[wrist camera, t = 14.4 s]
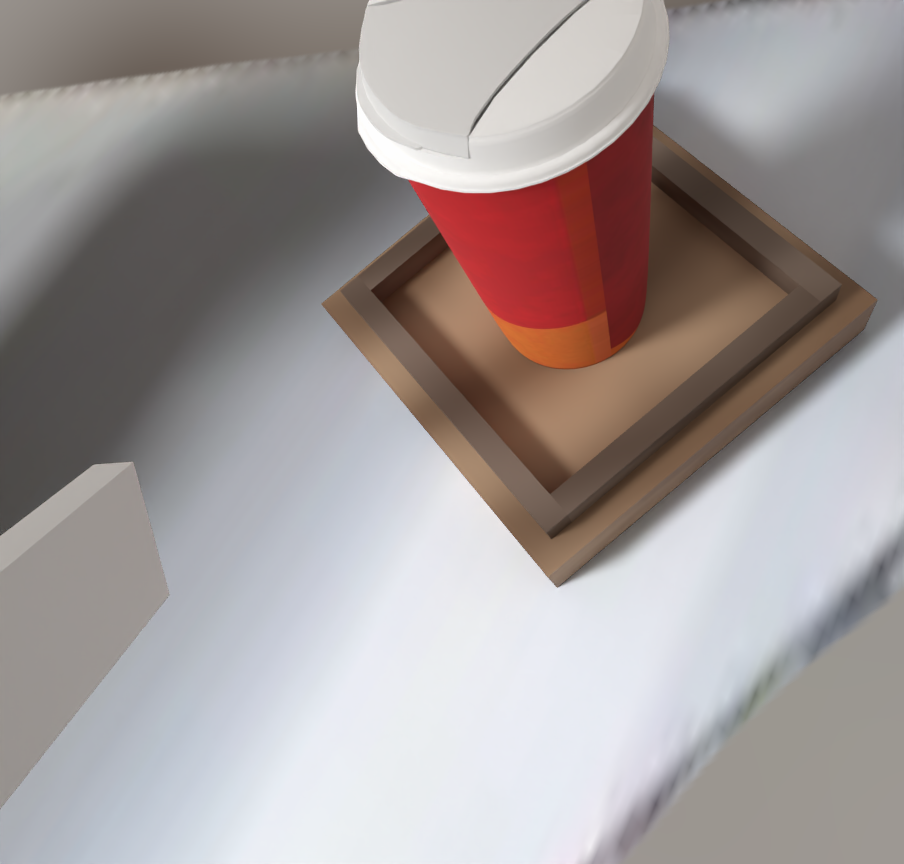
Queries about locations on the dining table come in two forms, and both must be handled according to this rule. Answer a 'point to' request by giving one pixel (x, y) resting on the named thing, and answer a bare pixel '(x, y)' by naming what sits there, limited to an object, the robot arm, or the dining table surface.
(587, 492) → the walnut base plate
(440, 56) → the coffee cup
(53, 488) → the dining table surface
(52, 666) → the robot arm
